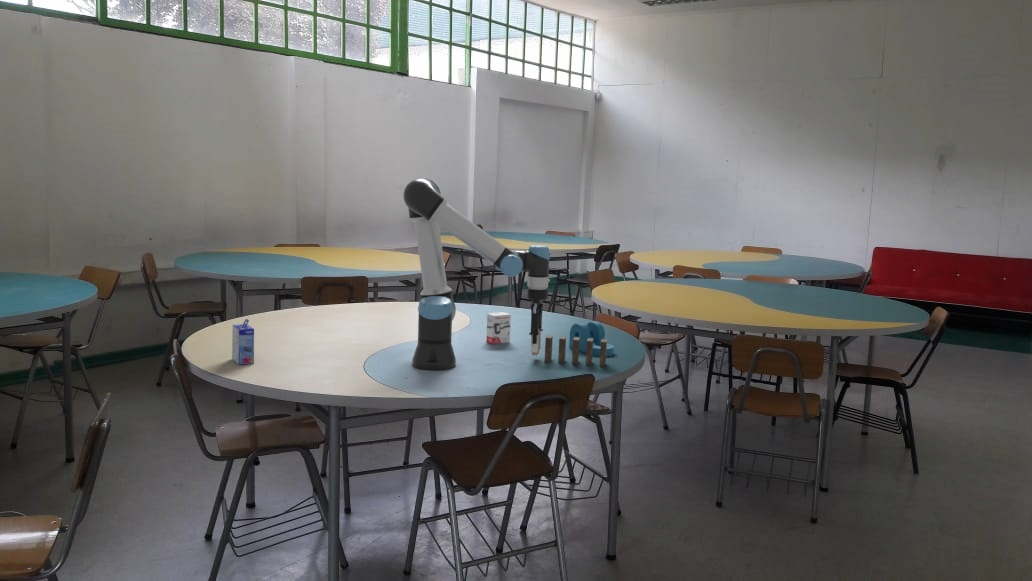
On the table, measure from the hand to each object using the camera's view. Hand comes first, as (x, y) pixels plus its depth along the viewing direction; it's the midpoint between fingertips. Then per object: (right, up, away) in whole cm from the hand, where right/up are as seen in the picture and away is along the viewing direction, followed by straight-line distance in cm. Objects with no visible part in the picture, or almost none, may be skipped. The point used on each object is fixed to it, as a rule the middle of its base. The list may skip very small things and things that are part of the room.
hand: (535, 350), depth 277 cm
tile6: (+24, -5, -3) cm, 25 cm away
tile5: (+19, -5, -3) cm, 20 cm away
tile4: (+14, -4, -2) cm, 15 cm away
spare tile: (0, -1, 0) cm, 1 cm away
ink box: (-14, +1, +27) cm, 31 cm away
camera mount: (+23, -2, +18) cm, 30 cm away
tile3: (+10, -4, -1) cm, 10 cm away
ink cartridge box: (-101, -3, -19) cm, 103 cm away
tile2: (+5, -4, 0) cm, 6 cm away
